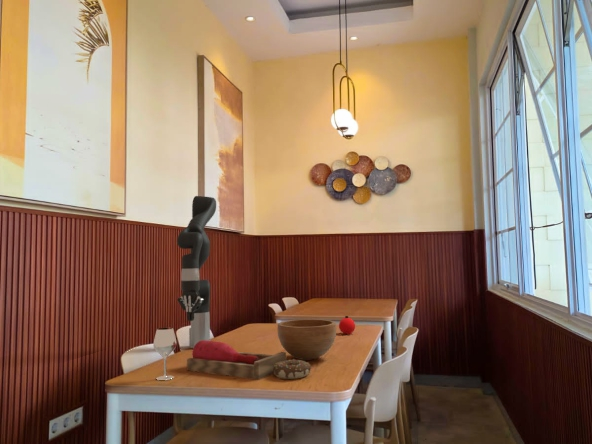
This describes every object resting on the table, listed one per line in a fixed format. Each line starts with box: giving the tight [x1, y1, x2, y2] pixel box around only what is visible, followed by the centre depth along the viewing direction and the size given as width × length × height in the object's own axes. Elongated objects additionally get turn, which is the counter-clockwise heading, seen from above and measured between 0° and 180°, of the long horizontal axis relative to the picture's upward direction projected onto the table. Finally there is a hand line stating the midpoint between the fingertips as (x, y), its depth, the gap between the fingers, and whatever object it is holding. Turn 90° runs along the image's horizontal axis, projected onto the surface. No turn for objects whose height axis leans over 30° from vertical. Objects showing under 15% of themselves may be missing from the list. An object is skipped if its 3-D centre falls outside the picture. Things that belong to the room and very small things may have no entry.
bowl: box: [277, 318, 337, 361], centre depth 196 cm, size 25×25×15 cm
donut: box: [272, 358, 312, 380], centre depth 170 cm, size 14×14×5 cm
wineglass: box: [153, 326, 178, 381], centre depth 170 cm, size 8×8×18 cm
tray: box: [186, 351, 287, 381], centre depth 181 cm, size 34×19×6 cm, turn 60°
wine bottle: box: [192, 340, 258, 365], centre depth 180 cm, size 10×10×30 cm
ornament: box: [338, 315, 356, 335], centre depth 257 cm, size 9×9×10 cm
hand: (190, 320), depth 194 cm, fingers closed
